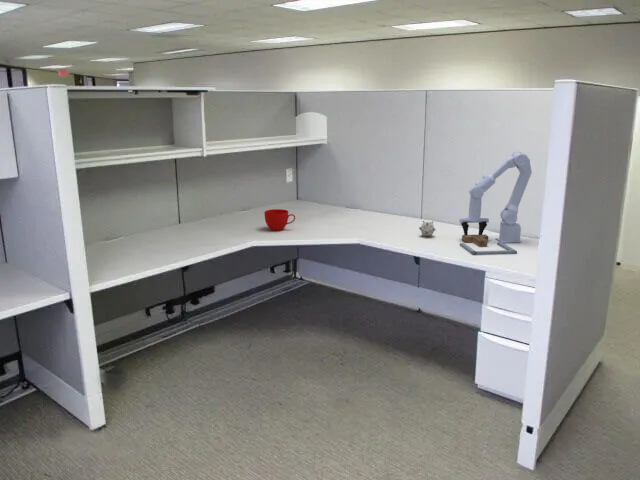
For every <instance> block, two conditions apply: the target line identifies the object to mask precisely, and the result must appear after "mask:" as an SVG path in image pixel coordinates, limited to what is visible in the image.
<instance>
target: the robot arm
mask: <svg viewBox="0 0 640 480" xmlns="http://www.w3.org/2000/svg"><path fill="white" fill-rule="evenodd" d="M513 168H517V170H518V172H519V174H518V177H517V179H516V182H515V185H514V186H513V190H512V192H511V195H510V198H509V200H508V202H507V204H506V205H505V206H504V209H503V210H502V211H501V212H500V219H501V221H500V224H499V226H500V228H499V237H496V238H495V239H496V240H497V241H498V242H502V243H504V244H510V243H513V244H514V243H521V231H522V227H521V225H520V223H517V220H518V213H519V205H520V203H521V200H522V198H523V196H524V193H525V190H526V189H527V185H528V183H529V181H530V178H531V176H532V172H533V171H532V167H531V159H530V158H529V156H528V155H527V154H526V153H522V152H521V151H515V152H513V153H512V154H511V155H509V156H508V157H507V158H506V159H504V160H503V162H502V163H501V164H500V165H499V166H497V168H496V169H495V170H494V171H493V172H492V173H491V174H486V175H483V176H482V177H481V180H479V181H478V182H476V183H475V185H473V186H471V187H470V190H469V191H468V192H469V193H468V194H469V195H470V197H469V205H468V209H469V210H468V217H466V218H459V223H460V224H461V225H460V226H461V227H462V231H463V235H469V234H468V233H469V227H470V224H471V223H474V224H475V223H478V235H483V233H484V232H485V229H486V227H487V226H488V223H489V221H490V219H489V218H488V217H481V214H482V198H483V196H484V194H485V192H487V191H488V190H489V189H490V188H491V187H492V186H494V185H495V184H496V180H497V179H498V178H499V177H500V176H501V175H502V174H504V173H505V172H506V171H507V170H508V169H513ZM469 223H470V224H469Z"/></svg>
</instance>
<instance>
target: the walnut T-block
mask: <svg viewBox="0 0 640 480" xmlns="http://www.w3.org/2000/svg"><path fill="white" fill-rule="evenodd" d="M461 236H462V237H461V241H462V243H465V244H468V243H469V244H470V243H472V244H474V245H475V246H477V247H478V248H483V247H484V248H485V247H488V243H489V236H488V235H487V234H482V235H479V234H468V235H464V234H462V235H461Z"/></svg>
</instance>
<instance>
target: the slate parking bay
mask: <svg viewBox="0 0 640 480" xmlns="http://www.w3.org/2000/svg"><path fill="white" fill-rule="evenodd" d="M496 245H497V246H499V247H501V248H502V249H504V250H475V249H473V248H472V247H470V245H467V243H464V242H459V246H460V247H461V248H462V249H464V250H465V251H467V252H468V253H469V254H471V255H472V256H482V255H483V256H487V255H490V256H491V255H513V254H514V255H517V254H518V250H516V249H515V248H513V247H511V246H509V245H507V243H502V242H500V241H497V243H496Z"/></svg>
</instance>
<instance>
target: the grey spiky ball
mask: <svg viewBox="0 0 640 480" xmlns="http://www.w3.org/2000/svg"><path fill="white" fill-rule="evenodd" d="M433 223H434V221H431V222H428V221H424V220H422V224H421V226H419V227H418V228H419V230H420V232H421V237H423V236H424V237H425V236H426V237H431V238H433V235H434V232H435V231H437V230H436V228H435V227H434V224H433Z"/></svg>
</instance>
